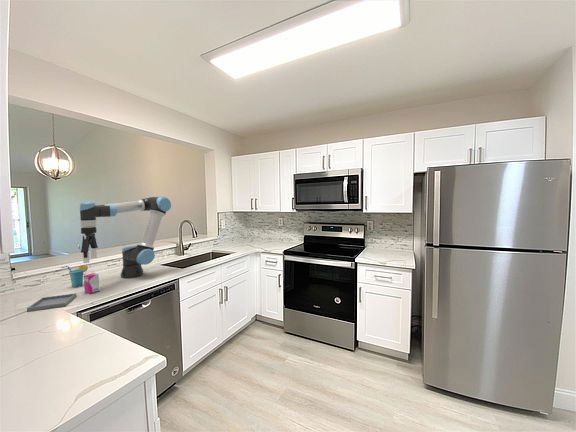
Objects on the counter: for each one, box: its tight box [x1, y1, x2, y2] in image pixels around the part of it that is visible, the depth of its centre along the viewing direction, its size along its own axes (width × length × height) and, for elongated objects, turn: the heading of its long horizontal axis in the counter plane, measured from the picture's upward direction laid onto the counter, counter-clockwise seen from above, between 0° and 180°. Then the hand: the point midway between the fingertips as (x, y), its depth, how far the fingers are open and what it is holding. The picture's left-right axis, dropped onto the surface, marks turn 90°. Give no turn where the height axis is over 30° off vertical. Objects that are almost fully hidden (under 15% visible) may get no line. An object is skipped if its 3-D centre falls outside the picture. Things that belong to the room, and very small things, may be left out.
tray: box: [26, 292, 78, 313], centre depth 137 cm, size 16×16×2 cm
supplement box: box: [83, 272, 101, 295], centre depth 154 cm, size 6×6×12 cm
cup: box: [60, 264, 89, 288], centre depth 165 cm, size 14×8×15 cm, turn 129°
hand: (90, 260), depth 153 cm, fingers open, 13 cm apart
